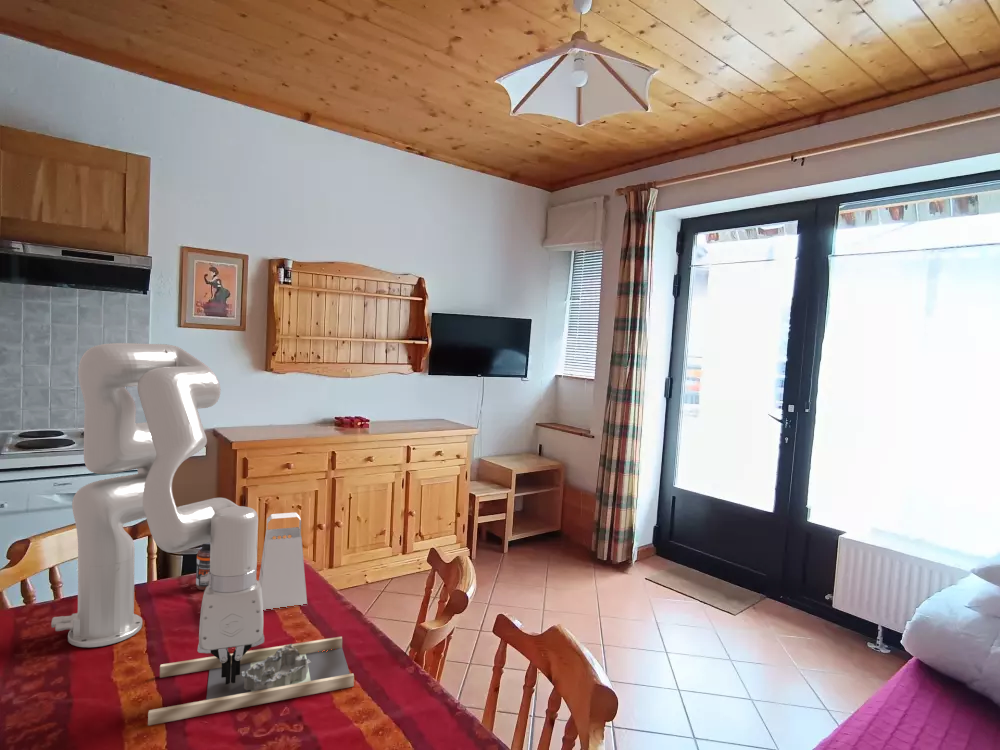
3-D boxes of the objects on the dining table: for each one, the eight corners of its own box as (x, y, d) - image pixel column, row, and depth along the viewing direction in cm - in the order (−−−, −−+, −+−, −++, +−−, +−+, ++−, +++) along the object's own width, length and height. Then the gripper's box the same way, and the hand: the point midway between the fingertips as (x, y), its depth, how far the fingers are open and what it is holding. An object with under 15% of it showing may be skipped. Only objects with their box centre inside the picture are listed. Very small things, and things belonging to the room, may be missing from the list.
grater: (257, 592, 140) (259, 510, 139) (302, 586, 145) (305, 507, 144) (258, 611, 131) (260, 524, 130) (307, 604, 135) (309, 520, 134)
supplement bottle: (194, 592, 138) (195, 546, 138) (196, 582, 144) (197, 538, 143) (222, 589, 141) (223, 543, 140) (223, 579, 146) (224, 535, 146)
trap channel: (148, 725, 92) (148, 713, 92) (160, 675, 105) (160, 664, 105) (353, 686, 105) (354, 675, 104) (341, 646, 118) (341, 636, 118)
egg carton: (292, 662, 111) (293, 641, 111) (314, 678, 106) (315, 656, 106) (237, 685, 103) (238, 662, 103) (258, 703, 98) (259, 680, 98)
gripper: (182, 592, 96) (180, 700, 97) (279, 582, 102) (276, 683, 103) (187, 575, 102) (185, 675, 104) (277, 566, 108) (274, 661, 109)
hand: (230, 679), depth 103 cm, fingers closed
